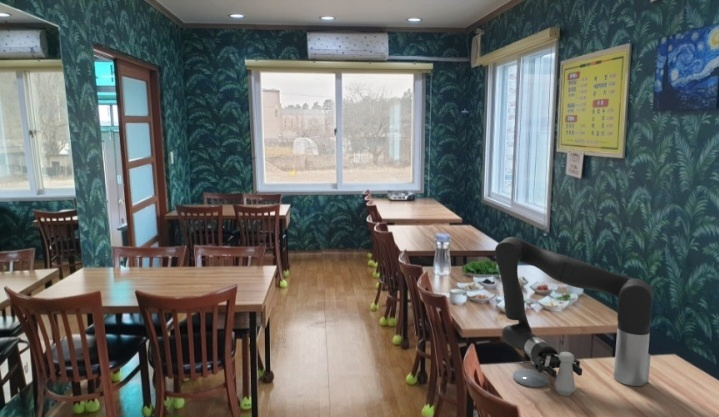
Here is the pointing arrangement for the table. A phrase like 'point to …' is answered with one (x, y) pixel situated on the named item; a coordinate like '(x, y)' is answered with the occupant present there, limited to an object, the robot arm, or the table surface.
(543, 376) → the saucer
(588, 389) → the table surface
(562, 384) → the salt shaker
